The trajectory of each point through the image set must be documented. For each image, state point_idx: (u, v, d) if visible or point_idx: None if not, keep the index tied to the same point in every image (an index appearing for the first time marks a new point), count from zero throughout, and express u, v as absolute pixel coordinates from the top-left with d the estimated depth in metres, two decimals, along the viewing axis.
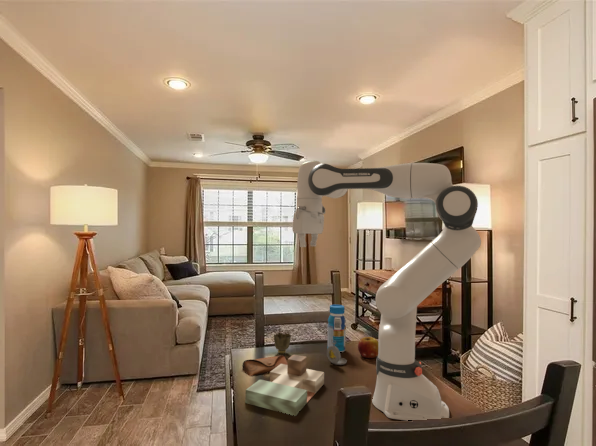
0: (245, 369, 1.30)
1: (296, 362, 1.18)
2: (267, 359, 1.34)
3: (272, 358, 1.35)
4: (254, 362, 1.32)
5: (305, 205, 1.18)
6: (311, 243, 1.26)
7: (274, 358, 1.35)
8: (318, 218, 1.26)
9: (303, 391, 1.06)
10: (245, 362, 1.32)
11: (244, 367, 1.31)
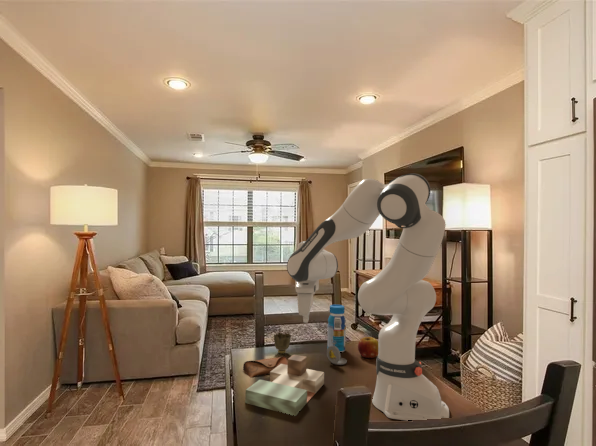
0: (246, 370, 1.29)
1: (296, 362, 1.18)
2: (268, 360, 1.33)
3: (273, 359, 1.34)
4: (255, 363, 1.31)
5: None
6: None
7: (275, 359, 1.34)
8: None
9: (303, 391, 1.06)
10: (246, 363, 1.31)
11: (245, 368, 1.30)
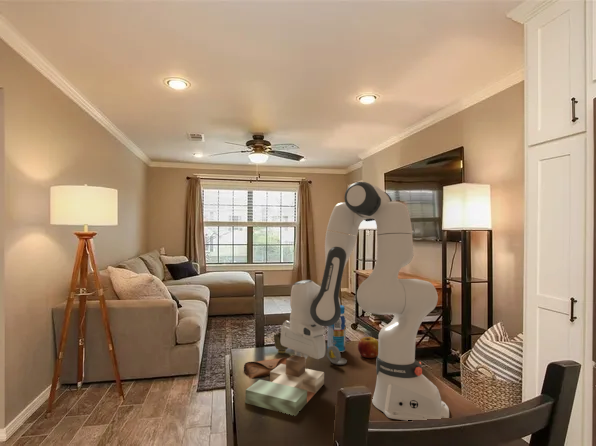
0: (246, 372, 1.28)
1: (294, 363, 1.18)
2: (269, 361, 1.32)
3: (274, 360, 1.32)
4: (255, 364, 1.30)
5: None
6: None
7: (276, 360, 1.33)
8: (307, 339, 1.20)
9: (303, 391, 1.06)
10: (246, 364, 1.30)
11: (245, 369, 1.29)
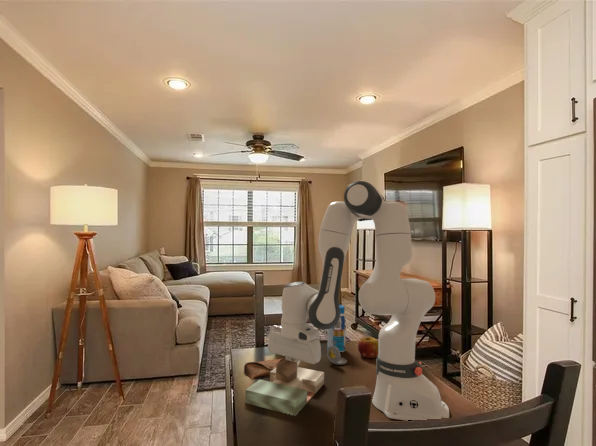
0: (246, 372, 1.28)
1: (283, 368, 1.13)
2: (269, 362, 1.31)
3: (274, 361, 1.32)
4: (256, 365, 1.29)
5: None
6: None
7: (276, 361, 1.32)
8: (302, 344, 1.14)
9: (303, 391, 1.06)
10: (247, 365, 1.29)
11: (245, 370, 1.29)
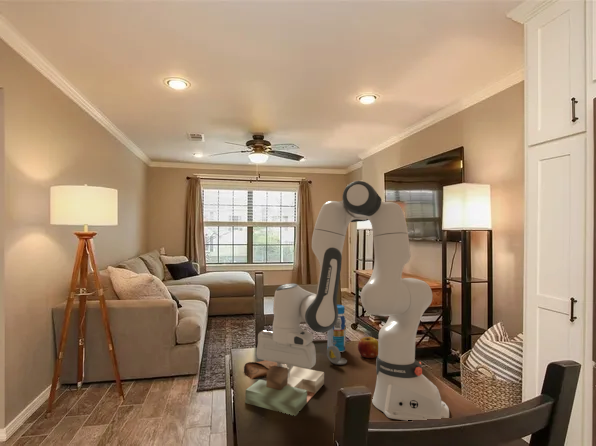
0: (246, 372, 1.28)
1: (275, 375, 1.08)
2: (269, 362, 1.31)
3: None
4: (256, 365, 1.29)
5: None
6: None
7: None
8: (296, 349, 1.09)
9: (303, 391, 1.06)
10: (246, 365, 1.29)
11: (245, 370, 1.29)
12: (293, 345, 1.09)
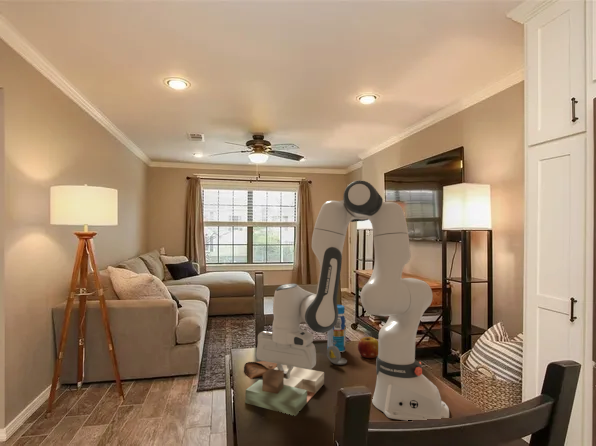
0: (246, 372, 1.28)
1: (272, 378, 1.05)
2: (269, 362, 1.31)
3: None
4: (255, 365, 1.30)
5: None
6: None
7: None
8: (296, 349, 1.08)
9: (303, 391, 1.06)
10: (246, 364, 1.30)
11: (245, 369, 1.29)
12: (293, 346, 1.08)
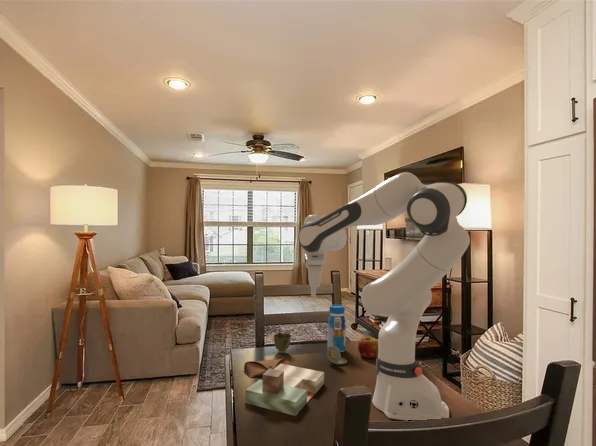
0: (246, 371, 1.29)
1: (272, 378, 1.05)
2: (269, 362, 1.31)
3: (274, 361, 1.32)
4: (255, 364, 1.30)
5: None
6: None
7: (276, 361, 1.32)
8: None
9: (303, 391, 1.06)
10: (246, 364, 1.30)
11: (245, 369, 1.30)
12: None
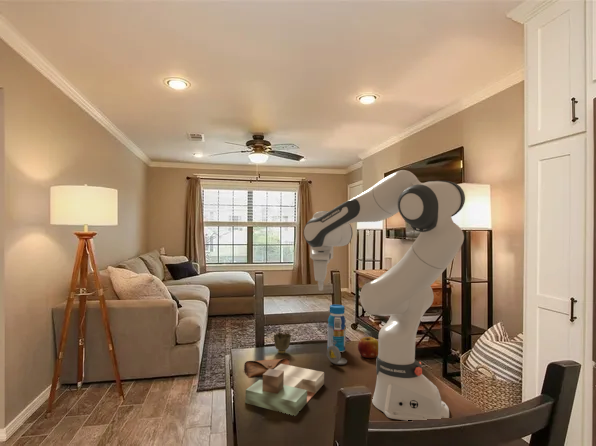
0: (245, 370, 1.29)
1: (272, 378, 1.05)
2: (269, 361, 1.32)
3: (274, 361, 1.32)
4: (255, 364, 1.30)
5: None
6: None
7: (276, 361, 1.32)
8: None
9: (303, 391, 1.06)
10: (246, 363, 1.31)
11: (245, 368, 1.30)
12: None
